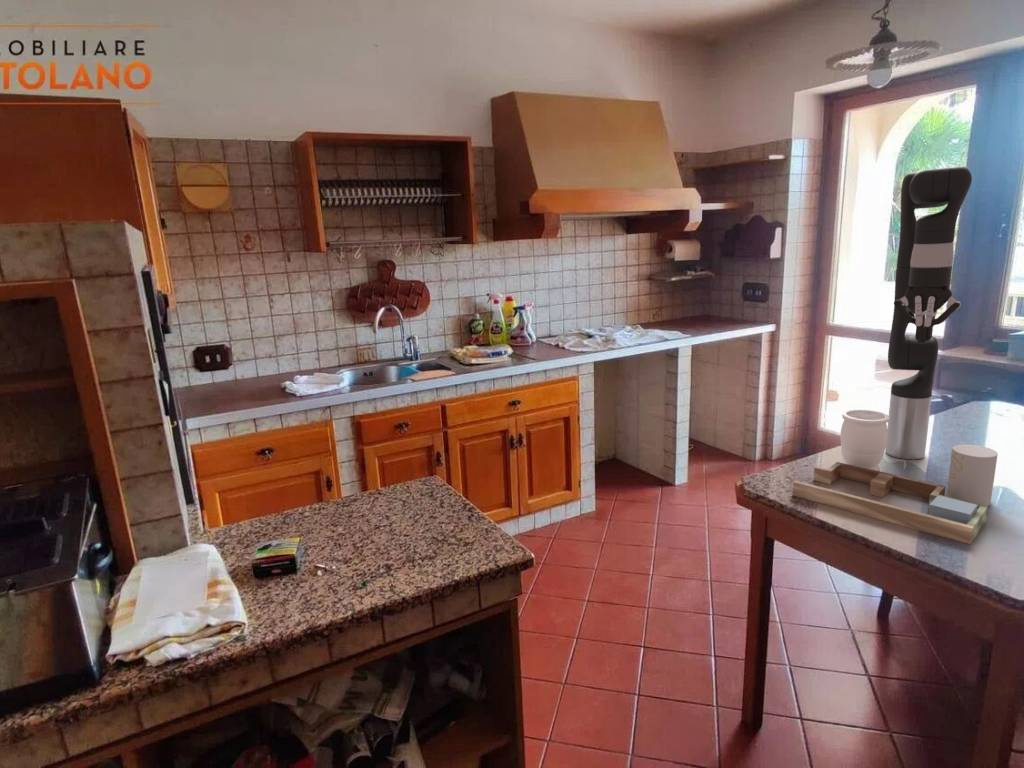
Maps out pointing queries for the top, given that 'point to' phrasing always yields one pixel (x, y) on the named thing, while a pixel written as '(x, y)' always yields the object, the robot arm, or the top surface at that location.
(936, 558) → the top surface
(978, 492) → the white cylinder
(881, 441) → the jar
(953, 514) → the block
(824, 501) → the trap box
